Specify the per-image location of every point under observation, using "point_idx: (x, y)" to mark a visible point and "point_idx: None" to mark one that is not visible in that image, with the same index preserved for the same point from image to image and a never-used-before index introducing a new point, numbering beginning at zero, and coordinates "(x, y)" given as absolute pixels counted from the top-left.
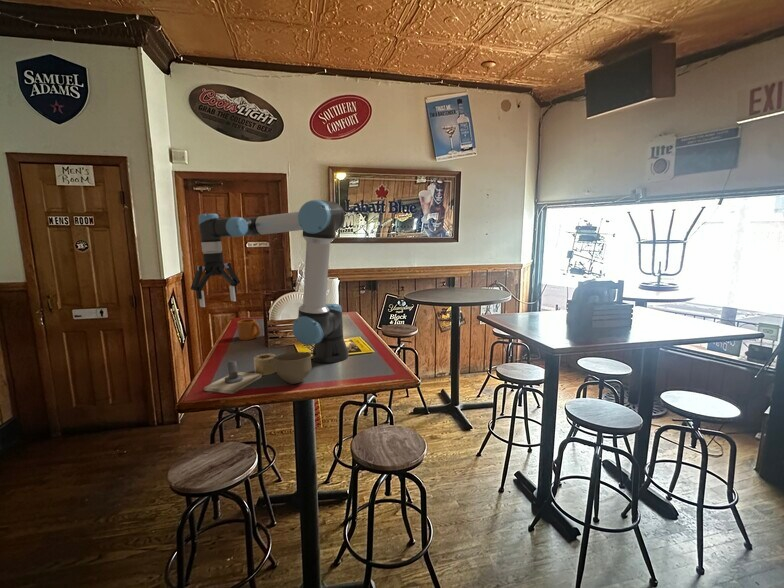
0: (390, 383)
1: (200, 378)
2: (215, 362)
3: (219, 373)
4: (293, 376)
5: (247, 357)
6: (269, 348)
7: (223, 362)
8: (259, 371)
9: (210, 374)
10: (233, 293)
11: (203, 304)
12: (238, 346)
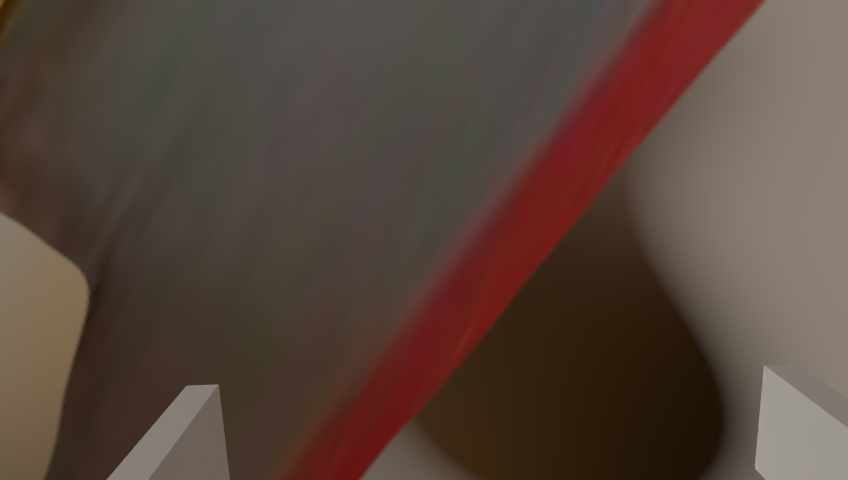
0: None
1: (712, 53)
2: (493, 266)
3: (598, 36)
4: None
5: (314, 179)
6: (108, 230)
7: (464, 221)
8: None
9: (639, 69)
10: (155, 473)
11: (823, 386)
12: None
